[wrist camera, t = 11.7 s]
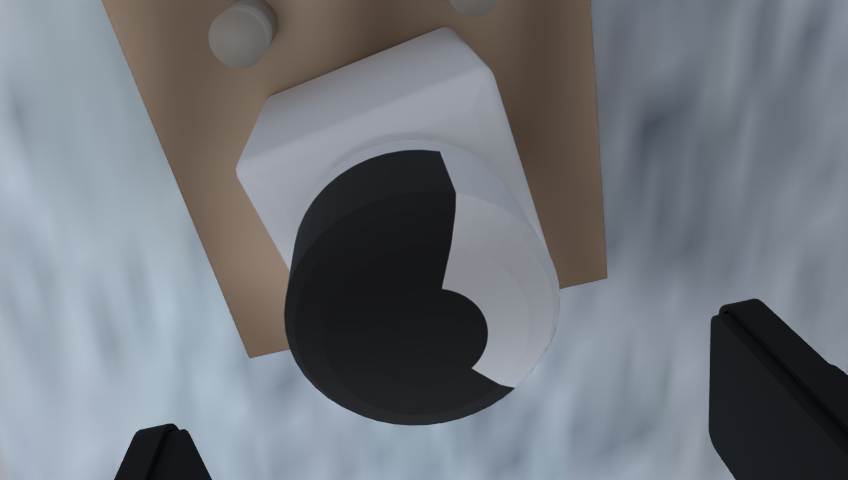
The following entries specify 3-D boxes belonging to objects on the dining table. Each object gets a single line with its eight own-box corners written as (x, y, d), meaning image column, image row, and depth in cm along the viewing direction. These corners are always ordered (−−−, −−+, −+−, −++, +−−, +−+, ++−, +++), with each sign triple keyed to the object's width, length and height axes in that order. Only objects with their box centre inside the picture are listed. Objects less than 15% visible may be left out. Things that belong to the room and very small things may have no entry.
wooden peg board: (571, -141, 21) (624, -155, 17) (599, 266, 28) (640, 324, 24) (98, -37, 21) (38, -26, 17) (252, 344, 28) (236, 415, 24)
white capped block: (343, 258, 25) (339, 502, 15) (262, 97, 22) (182, 262, 12) (508, 196, 25) (626, 401, 14) (450, 21, 22) (548, 120, 11)
